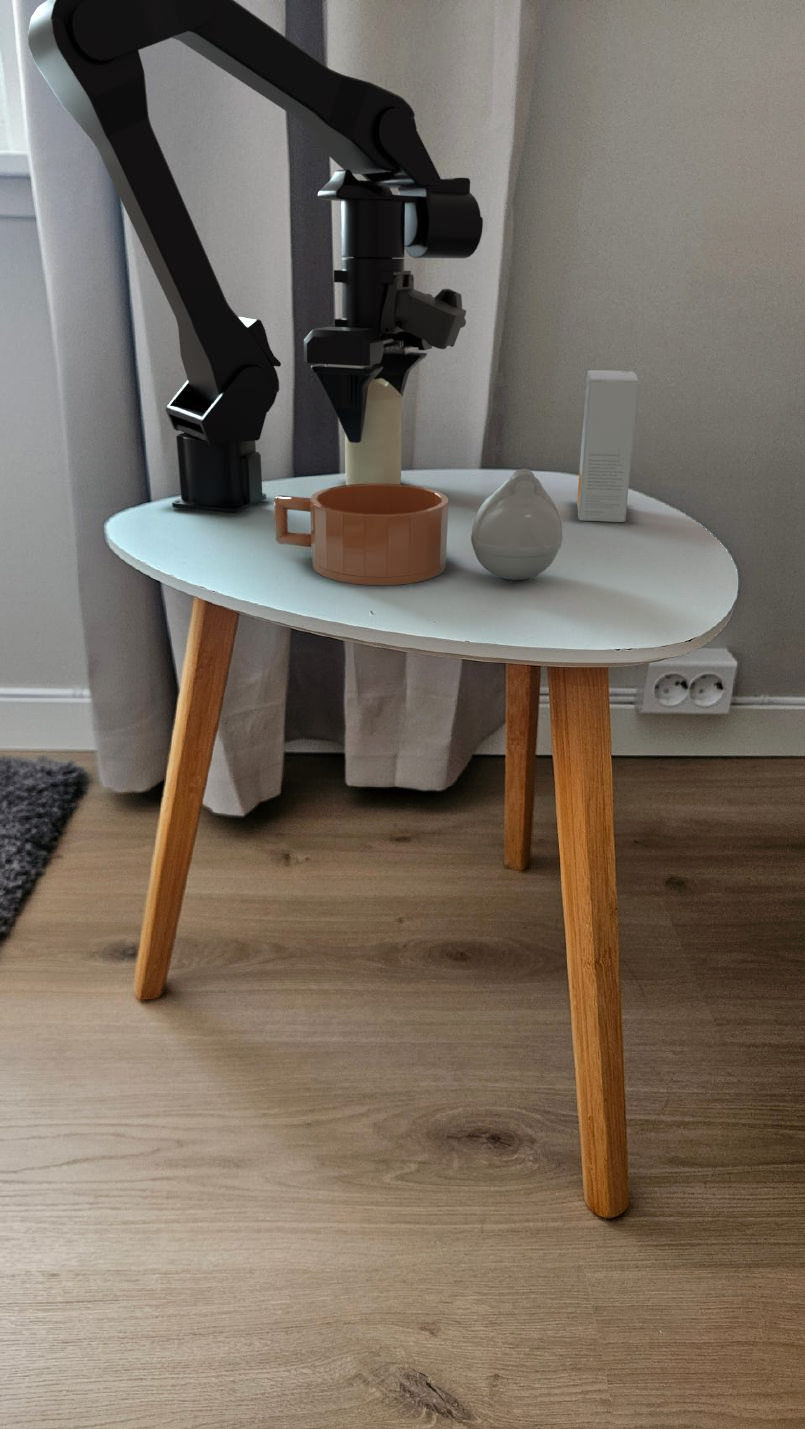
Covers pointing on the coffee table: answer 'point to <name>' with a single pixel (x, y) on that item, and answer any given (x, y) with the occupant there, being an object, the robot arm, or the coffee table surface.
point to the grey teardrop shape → (517, 529)
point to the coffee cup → (371, 532)
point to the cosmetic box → (607, 445)
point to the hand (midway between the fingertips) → (372, 434)
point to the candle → (377, 439)
